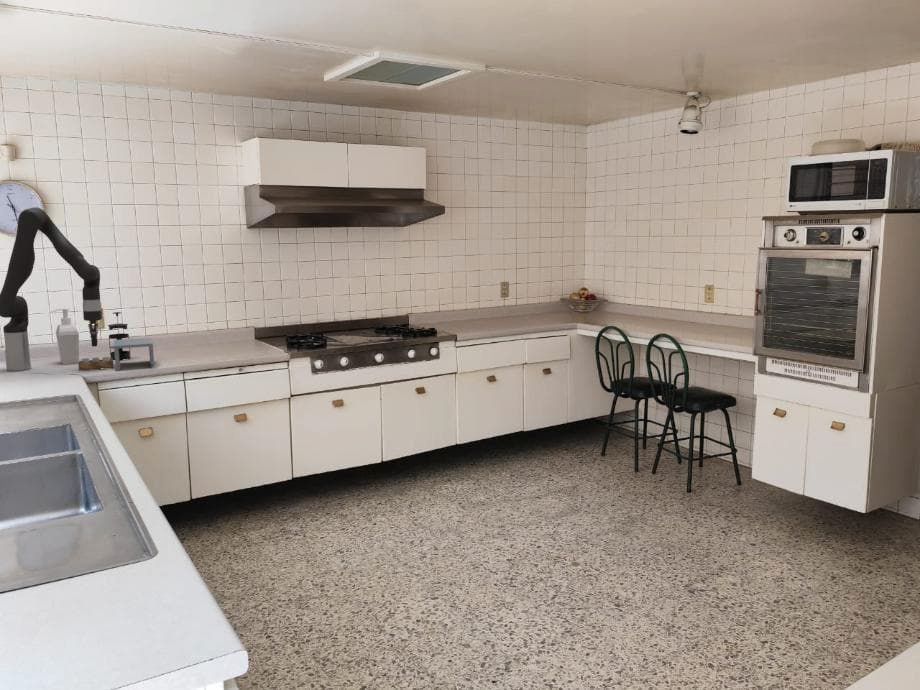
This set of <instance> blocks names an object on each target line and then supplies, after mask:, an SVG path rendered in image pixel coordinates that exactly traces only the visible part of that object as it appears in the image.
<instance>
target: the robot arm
mask: <svg viewBox="0 0 920 690" xmlns="http://www.w3.org/2000/svg"><path fill="white" fill-rule="evenodd" d="M38 231H40V232H41V233H42V234H43V235H44V236H45V237H47V238H48V240H49V241H50V242H51V244H52V246H53V248H54V250H55V251H56V253H58V254H59V255H58V256H60V257H61V258H62V259H63V260H64V261H65V262H66V263H67V264H68V265H69V266H70V267H72V269H73V270H74V272H75V273H76V274H77V276H78V277H80V278H81V279H82V280H83V287H82V316H83V321H85V322H86V321H87V322H89V324H88V325H87V326H88V329H89V331H88V332H89V335H90V339H91V340H90V341H91V347H92V348H93V347H94V348H95V347H98V333H99V323H97V321H102V319H103V313H102V311H103V309H102V302H101V292H100V291H101V290H100V284H101V272H100V268H98V267H97V266H96V265H94V264H90V263H89V262H88V261H87V260H86V259H85V257H84V255H83V253H82V252H80V250H79V249H78V248H76V246H74V245H73V243H71V242H70V241H69V240H68V238H66V236H65V235H64V234H63V232H62V231H60V229H59V227H57V225H56V223H54V221H53V220H52V219H51V217H50V216H49V215H48V214H47V212H46V211H45V210H44V209H42V208H40V207H30V208H25V209H24V210H22V211H21V212H20V213H19V215H18V219H17V228H16V235H15V239H14V243H13V248H12V251H11V254H10V257H9V262H8V268H7V271H6V276H5V280H4V283H3V286H2V289H1V291H0V317H1V318H3V319H4V318H5V319H7V318H8V319H9V318H10V320H9V322H8V323H7V324H6V325H3V337H4V346H5V347H4V348H5V350H4V356H5V357H4V358H5V364H6V365H5V367H6V371H7V372H8V371H9V372H10V371H13V372H17V371H18V372H19V371H25V370H30V369H32V363H31V353H30V344H29V333H28V327H29V306H28V302H27V300H26V299H25V297H23V296H21V295H18V293H19V291H20V289H21V287H22V286H23V285H24V284H25V283H26V281H27V280H28V279H29V278H30V276H31V275H32V273H33V269H34V265H35V261H36V254H35V253H36V252H35V245H34V244H35V240H36V236H37V233H38Z"/></svg>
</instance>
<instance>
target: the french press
mask: <svg viewBox="0 0 920 690" xmlns="http://www.w3.org/2000/svg"><path fill="white" fill-rule="evenodd" d="M112 314H115V316H116V321H117V322H116V323H112V324H111V323H110V324H108V325H107V327H108V330H109V331H113V329H117V333H112V334H111V333H110V334H108V343H109V357H110V359H113V360H115V353H114V351H111V349H112V350H114V345H111V341H110V340H111V339H112V340H123V339H130V334H129V333H123V332H122V333H120V329H123V330H127V329H128V326H129V324H128V323H123V322H122V323H119V314H122V312H121V311H115V312H112ZM129 358H131V359H132V355H131V348H128V350H124V348H119V359H120V361H124V360H123V359H128V360H130V359H129Z"/></svg>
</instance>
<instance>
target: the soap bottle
mask: <svg viewBox="0 0 920 690" xmlns="http://www.w3.org/2000/svg"><path fill="white" fill-rule="evenodd" d="M59 311H62V317H61V318H60V323H61V324H58V325H57V327H56V330H55V336H56V341H57V347H58V353H59V358H60V363H61V364H62V365H70V364H71V365H72V363H73V364H78V363H79V361H80V358H79V357H80V354H79V353H80V348H79V347H80V334H79V331H78V329H77V326H76V325H75V324H74V323H72V320H71V317H69V314H68V312H71V311H72V310H70V308H69V309H68V308H56V309H53V310H51V311H50V312H51V313H52V314H53V313H55V312H59Z"/></svg>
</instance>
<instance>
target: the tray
mask: <svg viewBox="0 0 920 690" xmlns="http://www.w3.org/2000/svg"><path fill="white" fill-rule="evenodd" d="M77 364H78V371H79V370H85V371H91V370H90V369H98V370H102V369H101V368H111V369H114V367H113V366H114V361H113V359H110V356H102V359H100V357H92V358H91V359H90V358H89V357H88V358H87V357H86V358H81V360H79V363H77Z"/></svg>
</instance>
